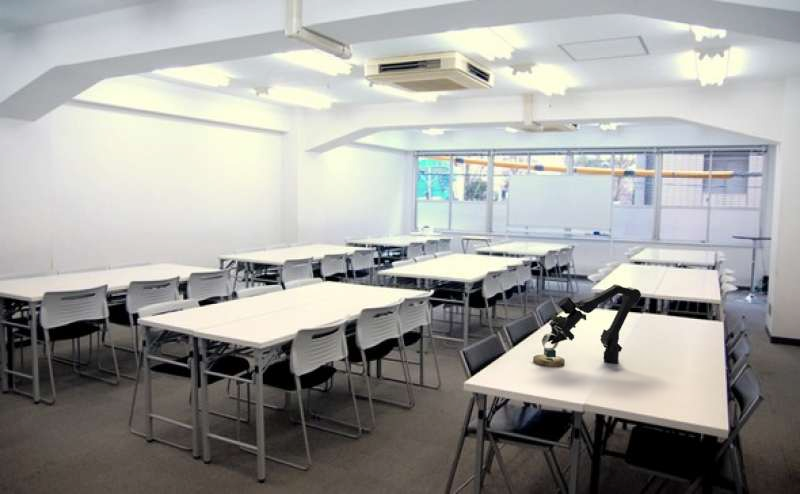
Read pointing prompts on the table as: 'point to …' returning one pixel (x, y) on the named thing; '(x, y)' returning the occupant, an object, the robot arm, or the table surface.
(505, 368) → the table surface
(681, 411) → the table surface
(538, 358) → the round dish
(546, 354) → the watch
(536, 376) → the table surface
